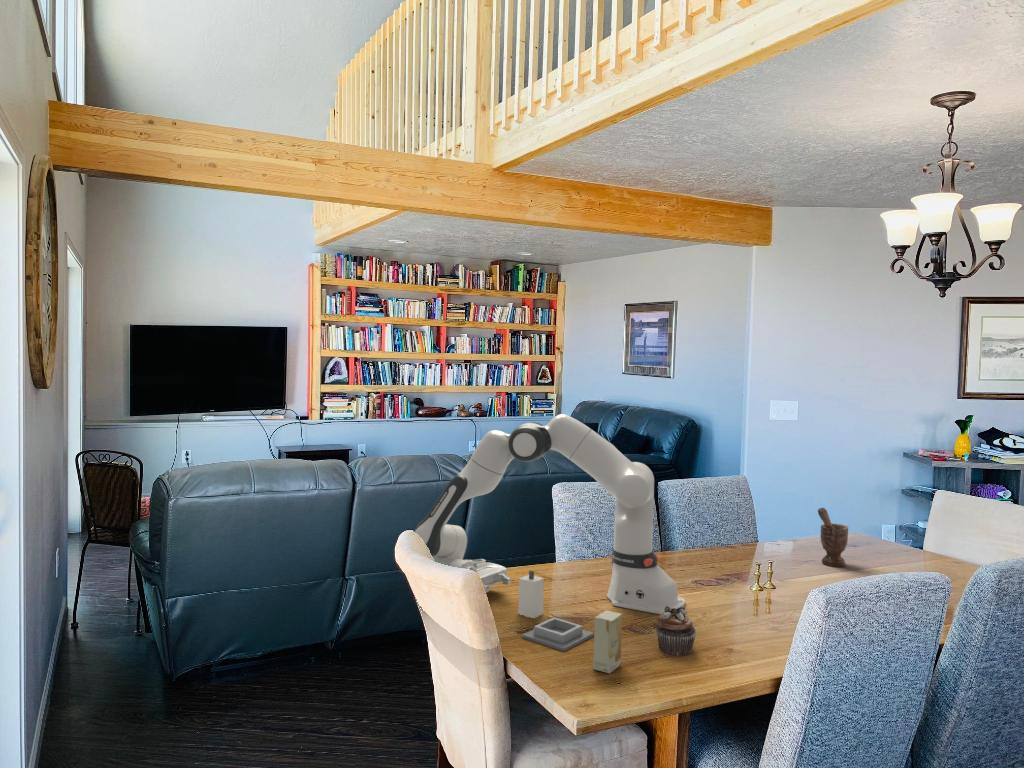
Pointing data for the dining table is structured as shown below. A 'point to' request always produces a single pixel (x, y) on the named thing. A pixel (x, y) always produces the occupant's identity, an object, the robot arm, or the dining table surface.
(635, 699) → the dining table surface
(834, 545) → the mortar and pestle
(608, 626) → the skincare box
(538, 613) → the plug
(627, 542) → the robot arm
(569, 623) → the socket plate
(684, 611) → the cupcake
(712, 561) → the dining table surface
